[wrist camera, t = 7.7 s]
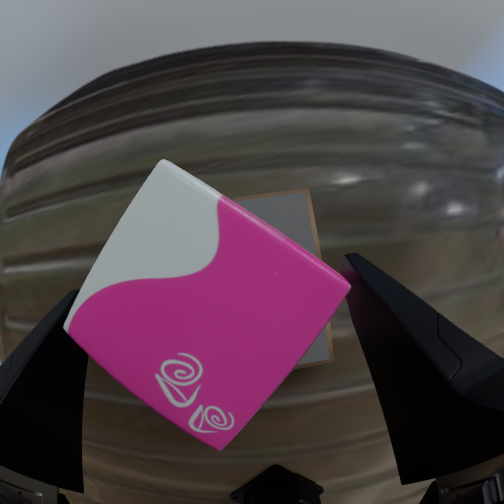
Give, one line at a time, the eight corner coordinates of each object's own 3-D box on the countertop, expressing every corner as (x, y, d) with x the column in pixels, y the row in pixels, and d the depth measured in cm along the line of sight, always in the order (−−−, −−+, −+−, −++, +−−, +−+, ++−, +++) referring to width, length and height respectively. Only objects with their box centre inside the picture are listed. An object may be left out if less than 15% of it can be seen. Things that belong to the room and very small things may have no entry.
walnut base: (325, 352, 19) (335, 363, 16) (173, 370, 20) (160, 382, 17) (303, 199, 21) (309, 186, 18) (153, 222, 21) (138, 213, 18)
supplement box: (172, 302, 17) (53, 324, 6) (224, 228, 18) (166, 142, 6) (245, 354, 17) (219, 460, 5) (298, 279, 17) (365, 273, 6)
